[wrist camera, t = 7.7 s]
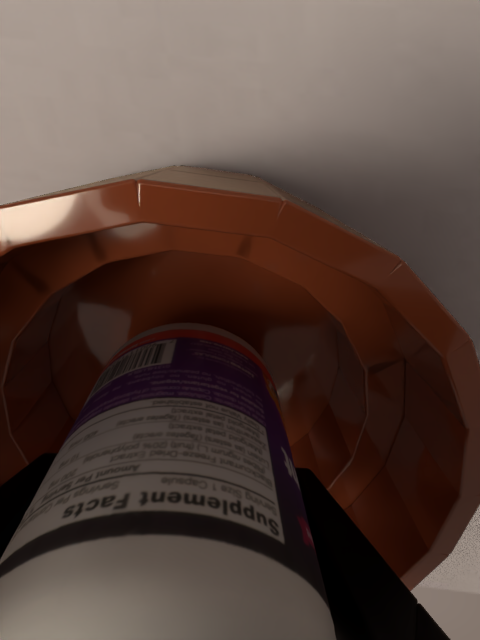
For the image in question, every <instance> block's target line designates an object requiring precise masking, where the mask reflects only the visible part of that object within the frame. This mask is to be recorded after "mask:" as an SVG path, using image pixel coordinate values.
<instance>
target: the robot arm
mask: <svg viewBox="0 0 480 640" xmlns="http://www.w3.org/2000/svg"><path fill="white" fill-rule="evenodd" d="M57 454H58V453H44V454H42V455H40V456H39V457H38V458H36V459H35V460H34V461H33V462H31V463H30V464H29V465H27V466H26V467H25V468H23V469H22V470H21V471H20V472H18V473H17V474H16V475H14V476H13V477H12V478H11V479H9V480H8V481H7V482H5V483H4V484H3V485H2V486H0V559H1V557H2V555H3V553H4V551H5V549H6V547H7V545H8V544H9V542H10V540H11V538H12V537H13V535H14V533H15V531H16V530H17V528H18V526H19V524H20V522H21V520H22V518H23V517H24V514H25V512H26V511H27V509H28V507H29V505H30V504H31V502H32V500H33V498H34V496H35V494H36V492H37V490H38V489H39V487H40V485H41V483H42V481H43V479H44V478H45V476H46V474H47V472H48V470H49V468H50V466H51V465H52V463H53V461H54V459H55V457H56V456H57ZM295 470H296V474H297V478H298V482H299V486H300V491H301V494H302V499H303V502H304V506H305V510H306V515H307V519H308V523H309V527H310V530H311V535H312V539H313V543H314V547H315V551H316V555H317V559H318V562H319V566H320V570H321V574H322V578H323V582H324V586H325V590H326V595H327V599H328V603H329V607H330V612H331V616H332V620H333V624H334V631H335V635H336V640H450V639H449V638H448V636H447V635H446V634H445V633H444V631H443V630H442V629H441V628H440V627H439V626H438V624H437V623H436V622H435V621H434V620H433V618H432V617H431V616H430V615H429V613H428V612H427V611H426V610H425V609H424V607H423V606H422V605H421V604H419V603H418V604H417V599H416V598H415V597H414V595H413V594H412V593H411V592H410V590H409V589H408V588H407V587H406V586H405V584H404V583H403V582H402V581H401V579H400V578H399V577H398V576H397V575H396V573H395V572H394V571H393V570H392V568H391V567H390V566H389V565H388V564H387V562H386V561H385V560H384V559H383V557H382V556H381V555H380V554H379V553H378V551H377V550H376V549H375V548H374V546H373V545H372V544H371V543H370V542H369V540H368V539H367V538H366V537H365V535H364V534H363V533H362V532H361V531H360V529H359V528H358V527H357V526H356V524H355V523H354V522H353V521H352V520H351V518H350V517H349V516H348V515H347V513H346V512H345V511H344V510H343V509H342V507H341V506H340V505H339V504H338V502H337V501H336V500H335V499H334V498H333V496H332V495H331V494H330V493H329V491H328V490H327V489H326V488H325V487H324V485H323V484H322V483H321V482H320V480H319V479H318V478H317V477H316V476H315V474H314V473H313V472H312V471H311V470H310V469H308V468H295Z"/></svg>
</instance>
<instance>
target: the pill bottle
mask: <svg viewBox="0 0 480 640" xmlns="http://www.w3.org/2000/svg"><path fill="white" fill-rule="evenodd" d="M0 640H336V635H335V631H334V624H333V620H332V616H331V612H330V607H329V603H328V599H327V595H326V590H325V586H324V582H323V578H322V574H321V570H320V566H319V562H318V559H317V555H316V551H315V547H314V543H313V539H312V535H311V530H310V527H309V523H308V519H307V515H306V510H305V506H304V502H303V499H302V494H301V491H300V486H299V482H298V478H297V474H296V470H295V466H294V462H293V458H292V453H291V449H290V445H289V441H288V436H287V432H286V428H285V424H284V420H283V416H282V411H281V407H280V402H279V398H278V393H277V390H276V387H275V384H274V380H273V378H272V375H271V373H270V370H269V368H268V367H267V365H266V363H265V362H264V360H263V359H262V358H261V356H260V355H259V354H258V353H257V351H256V350H255V349H254V348H253V347H252V346H251V345H249V344H248V343H247V342H245V341H244V340H243V339H241V338H240V337H238V336H236V335H234V334H232V333H230V332H228V331H226V330H223V329H221V328H218V327H214V326H211V325H205V324H199V323H173V324H167V325H162V326H159V327H155V328H152V329H149V330H147V331H145V332H142V333H140V334H138V335H137V336H135V337H133V338H132V339H130V340H129V341H128V342H126V343H125V344H124V345H123V346H122V347H121V348H120V349H119V350H118V351H117V352H116V353H115V354H114V355H113V357H112V358H111V359H110V361H109V362H108V364H107V365H106V367H105V368H104V370H103V371H102V373H101V374H100V376H99V378H98V380H97V382H96V384H95V386H94V387H93V389H92V391H91V393H90V395H89V397H88V399H87V400H86V402H85V404H84V406H83V407H82V409H81V411H80V413H79V415H78V417H77V419H76V421H75V423H74V425H73V426H72V428H71V430H70V432H69V434H68V435H67V437H66V439H65V441H64V443H63V445H62V447H61V448H60V450H59V452H58V454H57V456H56V457H55V459H54V461H53V463H52V465H51V466H50V468H49V470H48V472H47V474H46V476H45V478H44V479H43V481H42V483H41V485H40V487H39V489H38V490H37V492H36V494H35V496H34V498H33V500H32V502H31V504H30V505H29V507H28V509H27V511H26V512H25V514H24V517H23V518H22V520H21V522H20V524H19V526H18V528H17V530H16V531H15V533H14V535H13V537H12V538H11V540H10V542H9V544H8V545H7V547H6V549H5V551H4V553H3V555H2V557H1V559H0Z"/></svg>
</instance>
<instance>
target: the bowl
mask: <svg viewBox="0 0 480 640" xmlns="http://www.w3.org/2000/svg"><path fill="white" fill-rule="evenodd" d="M173 323H199V324H205V325H211V326H214V327H218V328H221V329H223V330H226V331H228V332H230V333H232V334H234V335H236V336H238V337H240V338H241V339H243V340H244V341H245V342H247V343H248V344H249V345H251V346H252V347H253V348H254V349H255V350H256V351H257V353H258V354H259V355H260V356H261V358H262V359H263V360H264V362H265V363H266V365H267V367H268V368H269V370H270V373H271V375H272V378H273V380H274V384H275V387H276V390H277V393H278V398H279V402H280V407H281V411H282V416H283V420H284V424H285V428H286V432H287V436H288V441H289V445H290V449H291V453H292V458H293V462H294V466H295V468H308V469H310V470H311V471H312V472H313V473H314V474H315V476H316V477H317V478H318V479H319V480H320V482H321V483H322V484H323V485H324V487H325V488H326V489H327V490H328V491H329V493H330V494H331V495H332V496H333V498H334V499H335V500H336V501H337V502H338V504H339V505H340V506H341V507H342V509H343V510H344V511H345V512H346V513H347V515H348V516H349V517H350V518H351V520H352V521H353V522H354V523H355V524H356V526H357V527H358V528H359V529H360V531H361V532H362V533H363V534H364V535H365V537H366V538H367V539H368V540H369V542H370V543H371V544H372V545H373V546H374V548H375V549H376V550H377V551H378V553H379V554H380V555H381V556H382V557H383V559H384V560H385V561H386V562H387V564H388V565H389V566H390V567H391V568H392V570H393V571H394V572H395V573H396V575H397V576H398V577H399V578H400V579H401V581H402V582H403V583H404V584H405V586H406V587H407V588H408V589H409V590H410V591H411V590H412V589H413V588H415V587H416V586H417V585H418V584H419V583H420V582H421V581H422V580H423V579H424V578H425V577H426V576H428V575H429V574H430V573H431V572H432V571H433V570H434V569H435V568H436V567H437V566H438V565H439V564H441V563H442V562H443V561H444V560H445V559H446V558H447V557H448V556H449V554H451V553H452V551H453V549H454V548H455V546H456V544H457V543H458V541H459V539H460V537H461V536H462V534H463V532H464V531H465V529H466V527H467V525H468V524H469V522H470V520H471V519H472V517H473V515H474V513H475V512H476V510H477V508H478V507H479V505H480V365H479V361H478V358H477V355H476V351H475V348H474V345H473V341H472V340H471V339H470V336H469V334H468V333H467V332H466V331H465V330H464V328H463V327H462V326H461V325H460V324H459V323H458V322H457V320H456V319H455V318H454V317H453V316H452V315H451V314H450V312H449V311H448V310H447V309H446V308H445V307H444V306H443V304H442V303H441V302H440V301H439V300H438V299H437V298H436V296H435V295H434V294H433V293H432V292H431V291H430V290H429V289H428V287H427V286H426V285H425V284H424V283H423V282H422V281H421V279H420V278H419V277H418V276H417V275H416V274H415V273H414V271H413V270H412V269H411V268H410V267H409V266H408V265H407V263H406V262H405V261H404V260H402V259H401V258H400V257H399V256H398V255H396V254H394V253H393V252H391V251H389V250H388V249H386V248H384V247H383V246H381V245H379V244H378V243H376V242H374V241H373V240H371V239H369V238H368V237H366V236H364V235H363V234H361V233H359V232H358V231H356V230H354V229H353V228H351V227H349V226H348V225H346V224H344V223H342V222H341V221H339V220H337V219H336V218H334V217H332V216H331V215H329V214H327V213H326V212H324V211H322V210H321V209H319V208H317V207H315V206H313V205H311V204H310V203H308V202H306V201H304V200H302V199H300V198H298V197H296V196H294V195H292V194H290V193H288V192H286V191H284V190H282V189H280V188H278V187H276V186H275V185H273V184H271V183H269V182H267V181H265V180H263V179H261V178H259V177H256V176H255V177H254V176H252V175H249V174H241V173H234V172H227V171H220V170H213V169H205V168H198V167H191V166H184V165H181V166H175V165H174V166H169V167H164V168H159V169H155V170H150V171H145V172H140V173H135V174H130V175H125V176H120V177H116V178H111V179H106V180H102V181H98V182H94V183H90V184H85V185H81V186H77V187H73V188H69V189H65V190H61V191H56V192H52V193H48V194H44V195H40V196H36V197H32V198H28V199H24V200H20V201H16V202H12V203H7V204H3V205H0V486H2V485H3V484H4V483H5V482H7V481H8V480H9V479H11V478H12V477H13V476H14V475H16V474H17V473H18V472H20V471H21V470H22V469H23V468H25V467H26V466H27V465H29V464H30V463H31V462H33V461H34V460H35V459H36V458H38V457H39V456H40V455H42V454H44V453H58V452H59V450H60V448H61V447H62V445H63V443H64V441H65V439H66V437H67V435H68V434H69V432H70V430H71V428H72V426H73V425H74V423H75V421H76V419H77V417H78V415H79V413H80V411H81V409H82V407H83V406H84V404H85V402H86V400H87V399H88V397H89V395H90V393H91V391H92V389H93V387H94V386H95V384H96V382H97V380H98V378H99V376H100V374H101V373H102V371H103V370H104V368H105V367H106V365H107V364H108V362H109V361H110V359H111V358H112V357H113V355H114V354H115V353H116V352H117V351H118V350H119V349H120V348H121V347H122V346H123V345H124V344H125V343H126V342H128V341H129V340H130V339H132V338H133V337H135V336H137V335H138V334H140V333H142V332H145V331H147V330H149V329H152V328H155V327H159V326H162V325H167V324H173Z"/></svg>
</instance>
